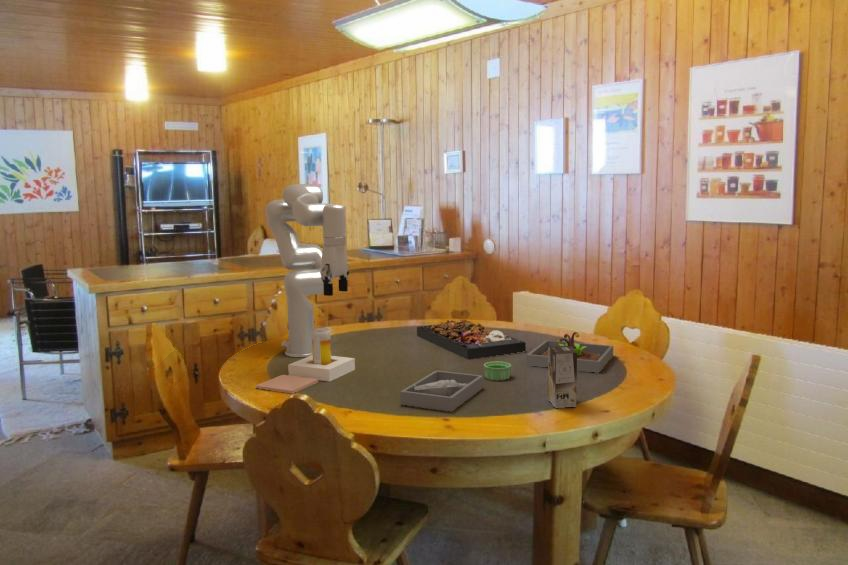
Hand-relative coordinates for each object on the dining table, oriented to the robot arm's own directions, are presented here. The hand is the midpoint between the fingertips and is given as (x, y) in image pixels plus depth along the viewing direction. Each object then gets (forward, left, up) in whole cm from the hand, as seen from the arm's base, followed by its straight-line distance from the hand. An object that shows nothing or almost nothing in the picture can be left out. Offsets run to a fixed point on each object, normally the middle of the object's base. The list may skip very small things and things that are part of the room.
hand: (335, 293), depth 236 cm
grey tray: (+44, -12, -27) cm, 53 cm away
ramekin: (+52, +14, -27) cm, 60 cm away
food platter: (+25, +57, -28) cm, 68 cm away
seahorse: (+44, -12, -27) cm, 53 cm away
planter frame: (+69, +44, -27) cm, 86 cm away
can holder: (-4, -4, -27) cm, 28 cm away
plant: (+69, +45, -28) cm, 87 cm away
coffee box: (+78, -5, -27) cm, 83 cm away
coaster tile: (-6, -21, -27) cm, 34 cm away
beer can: (-4, -4, -27) cm, 28 cm away
